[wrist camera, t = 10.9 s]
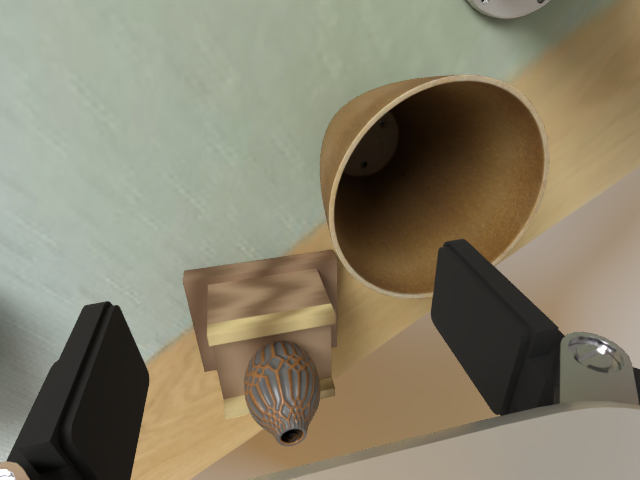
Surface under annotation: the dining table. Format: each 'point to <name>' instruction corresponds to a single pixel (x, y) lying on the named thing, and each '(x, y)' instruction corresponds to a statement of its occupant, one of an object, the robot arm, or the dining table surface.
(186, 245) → the dining table surface
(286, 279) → the stand
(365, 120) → the plant pot
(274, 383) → the vase
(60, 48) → the dining table surface
